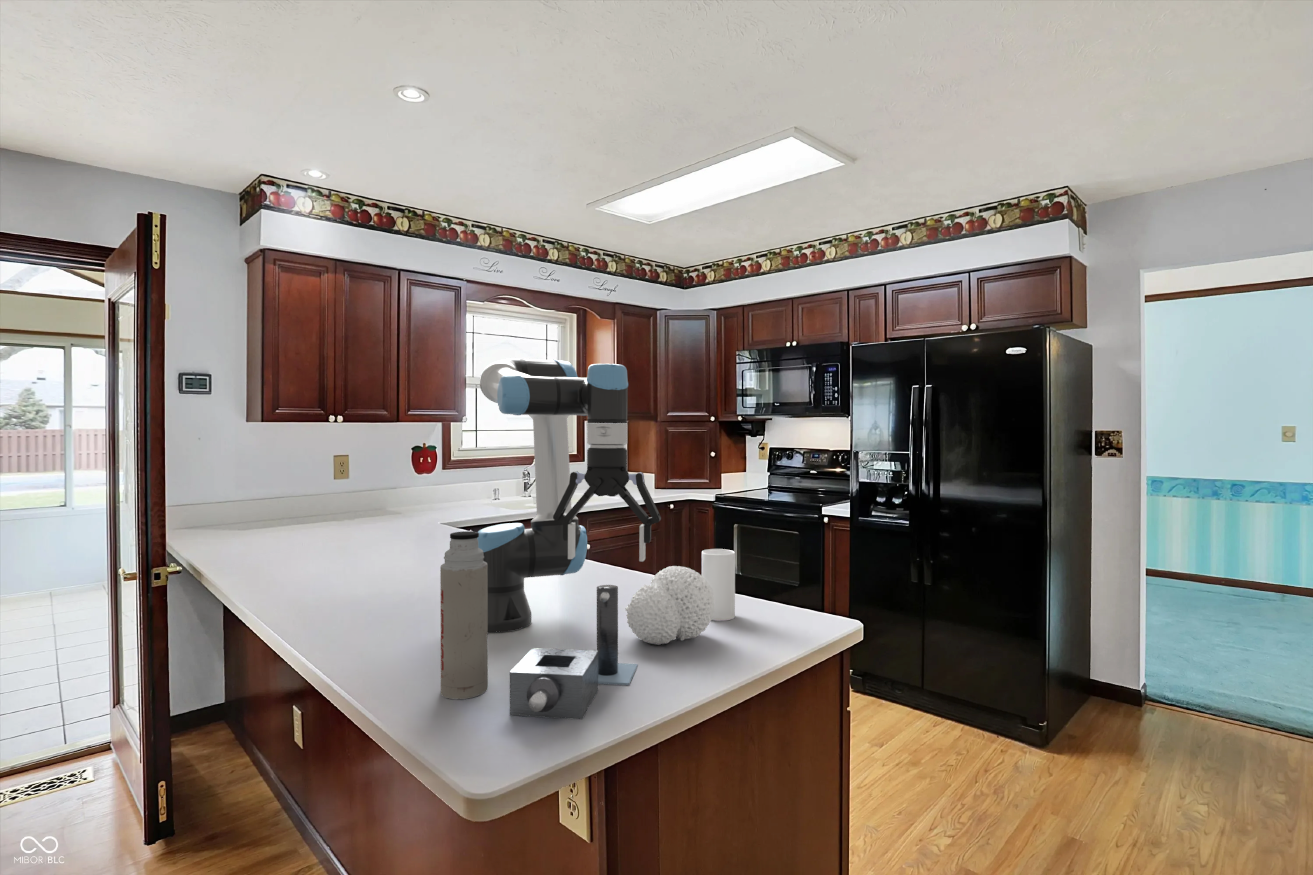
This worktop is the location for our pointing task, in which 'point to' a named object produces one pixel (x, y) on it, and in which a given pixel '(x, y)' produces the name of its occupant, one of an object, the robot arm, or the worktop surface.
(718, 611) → the cup
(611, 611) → the key
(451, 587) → the thermos bottle
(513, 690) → the block
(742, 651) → the worktop surface
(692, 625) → the white coral
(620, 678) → the mat
